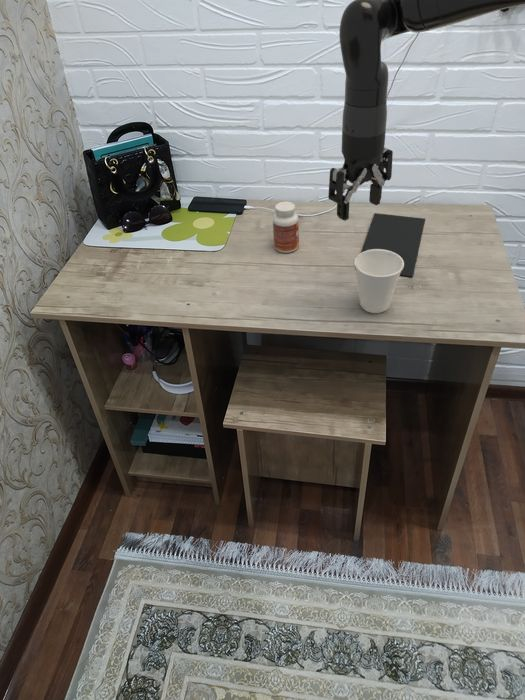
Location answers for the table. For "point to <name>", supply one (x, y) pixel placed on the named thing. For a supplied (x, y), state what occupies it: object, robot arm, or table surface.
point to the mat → (396, 238)
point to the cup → (377, 278)
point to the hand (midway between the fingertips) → (359, 210)
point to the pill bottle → (285, 227)
